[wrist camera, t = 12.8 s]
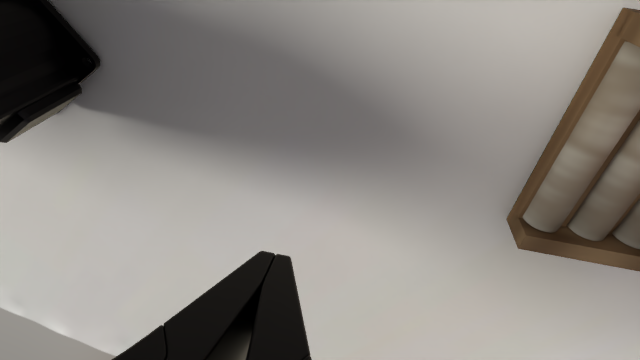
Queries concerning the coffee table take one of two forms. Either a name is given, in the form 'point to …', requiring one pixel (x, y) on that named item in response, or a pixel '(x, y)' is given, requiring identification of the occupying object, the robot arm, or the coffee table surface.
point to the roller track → (591, 165)
